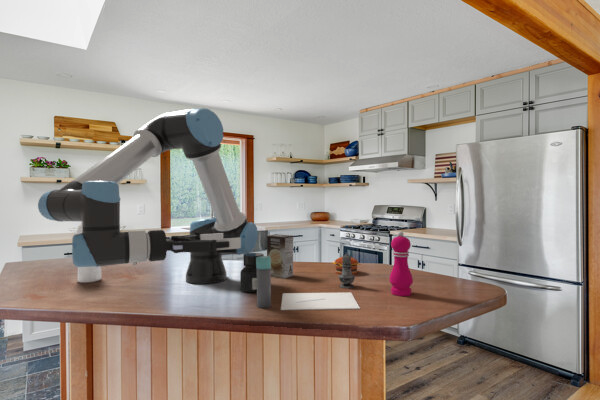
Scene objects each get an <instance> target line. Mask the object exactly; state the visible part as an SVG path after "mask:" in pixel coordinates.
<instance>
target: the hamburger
mask: <svg viewBox="0 0 600 400" xmlns="http://www.w3.org/2000/svg"><path fill="white" fill-rule="evenodd" d="M331 264H334V267H335V271H334V272H335V274H337V275H341V274H342V264H343V256H340V257H338V258H336V259H334V261H332V262H331ZM351 265H352V266H351V273H352V275H354V276H355V275H357V274H358V266H362V264H361V263H359V261H358V259H356V258H354V257H352V256H351Z"/></svg>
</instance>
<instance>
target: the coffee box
mask: <svg viewBox="0 0 600 400" xmlns="http://www.w3.org/2000/svg"><path fill="white" fill-rule="evenodd" d="M266 256H268V257H271V277H274V278H281V279H287V278H290V277H293V276H294V235H289V234H277V233H276V234H275V233H274V234H270V235H266Z"/></svg>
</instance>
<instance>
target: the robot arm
mask: <svg viewBox="0 0 600 400" xmlns="http://www.w3.org/2000/svg"><path fill="white" fill-rule="evenodd" d="M223 139H224V127H223V124H222V121H221V119H220V118H219V116H218V114H217V113H215V112H214V111H212V110H211V109H209V108H205V107H203V108H201V107H200V108H199V107H194V108H190V109H183V110H177V111H175V110H174V111H168V112H164V113H162V114H160V115H158V116H156V117H155V118H152V119H151V120H150V121H148V122H147V123H145V124H144V125H142V126H141V127H139V128H138V129H137V130H135V131H134V133H133V137H131V138H130V139H128V140H127V141H126V142H125V143H122V145H120V146H119V147H117V148H116V149H115V150H114V151H112V152H110V153H109V154H108V155H106V156H105V157H104V158H102V159H101V160H99V161H98V162H96V163H95V164H94V165H92V166H90V168H88V169H87V170H86V171H84V172H83V173H81V174H80V175H78V176H77V177H76V178H74V179H73V180H72V181H70V182H68V183H67V184H65V185H64V186H62V187H61V188H60V189H53V190H49V191H47V192H44V193H43V194H42V195H41V196H40V197H39V200H38V203H37V208H38V211H39V213H40V215H41V216H42V217H43V218H45V219H47V220H49V221H55V222H80V223H81V222H82V228H83V230H82V233H80V234H77V233H76V234H74V235H73V236H72V238H71V239H72V242H71V243H72V248H71V250H72V251H71V254H72V255H71V257H72V264H73V265H74V266H75V267H76V268H78V267H94V266H95V267H98V266H101V267H107V266H113V265H114V266H116V265H125V264H132V265H133V266H137V265H138V263H146V262H147V261H148V262H159V261H160V262H161V261H165V259H166V257H167V252H169V251H170V252H172V253H173V254H179V253H189V254H190V256H189V257H190V259H189V260H190V261H189V262H188V267H187V270H186V273H185V282H186V283H189V284H194V285H195V284H196V285H197V284H198V285H199V284H201V285H202V284H203V285H205V284H215V283H220V282H223V281H225V280H227V278H228V275H227V269H226V267H225V265H224V260H223V257H222V256H223V254H228V255H229V254H230V255H238V256H239V255H244V254H247V253H252V251H254V249H255V247H256V244H257V241H258V234H259V231H258V227H257V225H256V223H254V222H252V221H250V222H249V221H248V219H247V216H246V215H245V213H244V212H241V211H240V209H239V205H238V204H237V199H235V195H234V192H233V190H232V187H231V184H230V181H229V178H228V176H227V173H226V170H225V167H224V164H223V162H222V159H221V156H220V153H219V152H220V150H221V148H222V145H221V143H222V141H223ZM178 149H179V150H181V149H182V151H183V154H184V156H185V158H186V159H187V160H190V161H192V163H193V165H194V167H195V170H196V172H197V175H198V178H199V181H200V182H201V185H202V187H203V190H204V193H205V194H206V197H207V200H208V203H209V205H210V207H211V208H210V209H211V210H212V213H213V215H214V218H206V219H197V220H194V221H192V222H191V223H190V224H189V234H185V235H171V236H167V235H166V232H165V231H164V229H156V230H149V231H147V232H146V231H145V230H134V231H133V230H130V231H121V230H120V229H121V227H120V226H121V225H120V224H121V222H120V221H121V220H120V219H121V215H120V214H121V213H120V212H121V197H120V185H119V184H120V183H121V182H123V180H124V179H126V178H127V177H128V176H129V175H131V174H132V173H134V172H135V171H136V170H137V169H138V168H140V167H141V166H143V165H144V164H145V163H146V162H148V160H149V159H151V158H156V157H158V156H160V155H161V154H162V153H164V152H167V151H172V150H178Z"/></svg>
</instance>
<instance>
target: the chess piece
mask: <svg viewBox="0 0 600 400" xmlns="http://www.w3.org/2000/svg"><path fill="white" fill-rule="evenodd" d="M342 257H343V264H342V274H341V275H340V274H338V278H339V281H340V284H339V285H338V286H339V288H340V289H354V288H355V287H356V286H355V285H354V284H353V283H354V282H355V278H356V275H355V274H354V275H352V273H351V266H352V265H351V257H352V256H351V255H350V254H348V252H347V251H346V252H345V254H344V255H343V256H342Z"/></svg>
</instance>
